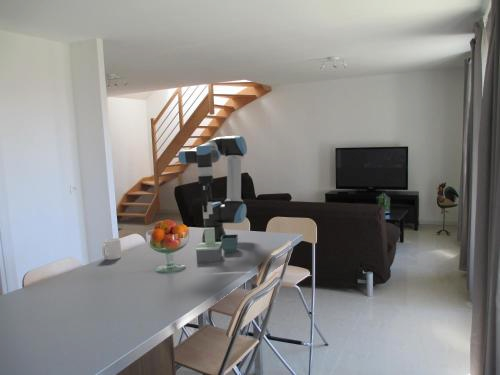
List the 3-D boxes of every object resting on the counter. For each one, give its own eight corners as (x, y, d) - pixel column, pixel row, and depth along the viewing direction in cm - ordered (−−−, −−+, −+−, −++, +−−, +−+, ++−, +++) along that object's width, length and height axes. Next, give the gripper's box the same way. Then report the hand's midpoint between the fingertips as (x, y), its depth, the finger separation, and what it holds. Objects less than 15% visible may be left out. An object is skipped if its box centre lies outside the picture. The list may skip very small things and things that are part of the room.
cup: (124, 256, 228) (123, 238, 227) (109, 262, 218) (107, 243, 217) (113, 255, 232) (111, 237, 231) (97, 261, 221) (95, 242, 220)
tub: (201, 257, 216) (200, 244, 215) (222, 256, 215) (221, 243, 215) (197, 264, 204) (196, 250, 203) (219, 263, 204) (218, 249, 203)
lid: (200, 245, 216) (198, 228, 215) (221, 244, 215) (220, 227, 214) (195, 252, 203) (194, 233, 202) (218, 251, 203) (217, 232, 202)
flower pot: (238, 254, 219) (237, 237, 218) (221, 255, 219) (220, 238, 218) (238, 250, 227) (237, 234, 226) (223, 250, 228) (222, 235, 227)
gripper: (202, 174, 223) (204, 212, 225) (193, 177, 198) (196, 220, 200) (215, 173, 222) (218, 212, 224) (209, 176, 197) (211, 220, 199)
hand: (208, 216), depth 212 cm, fingers open, 13 cm apart
